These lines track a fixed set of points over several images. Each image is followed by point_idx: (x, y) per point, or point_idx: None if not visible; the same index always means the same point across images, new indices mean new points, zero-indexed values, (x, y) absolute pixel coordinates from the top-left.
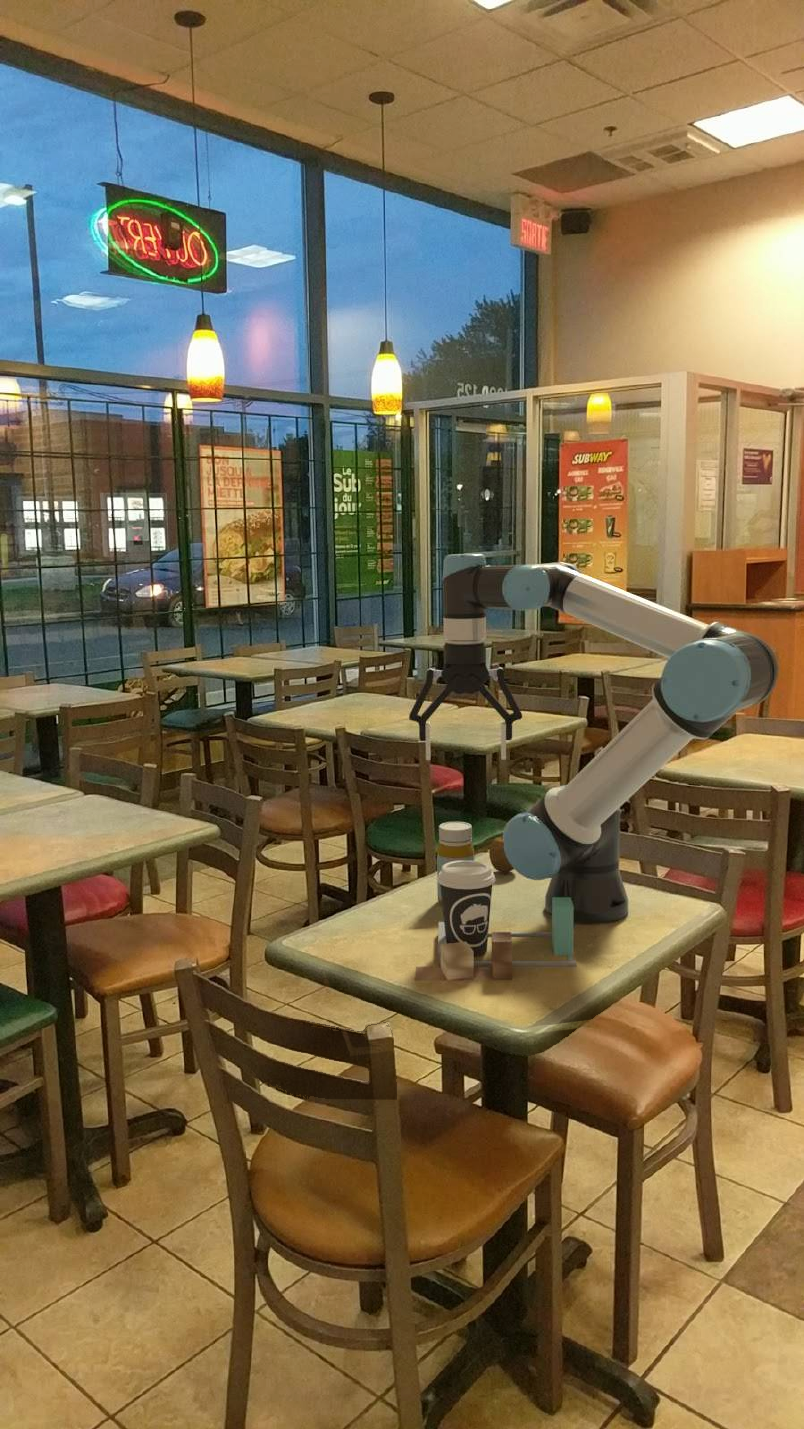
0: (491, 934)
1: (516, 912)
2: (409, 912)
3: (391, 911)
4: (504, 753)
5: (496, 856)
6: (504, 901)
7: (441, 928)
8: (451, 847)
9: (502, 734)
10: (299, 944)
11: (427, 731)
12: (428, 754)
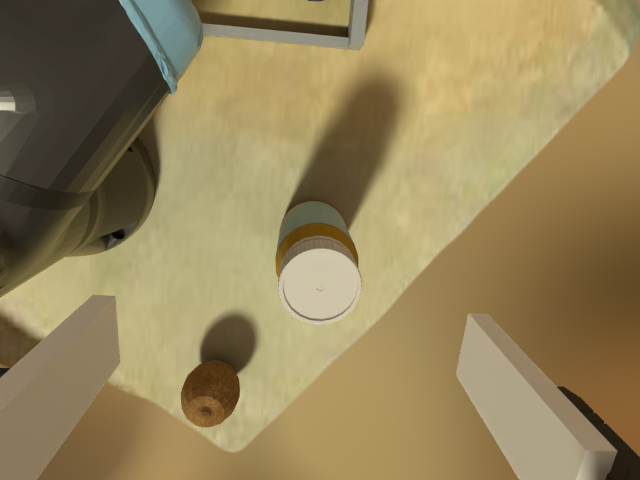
0: (263, 29)
1: (208, 174)
2: (397, 188)
3: (427, 195)
4: (84, 308)
5: (226, 374)
6: (227, 231)
7: (362, 5)
8: (330, 236)
9: (29, 376)
10: (601, 44)
11: (568, 410)
12: (488, 327)
